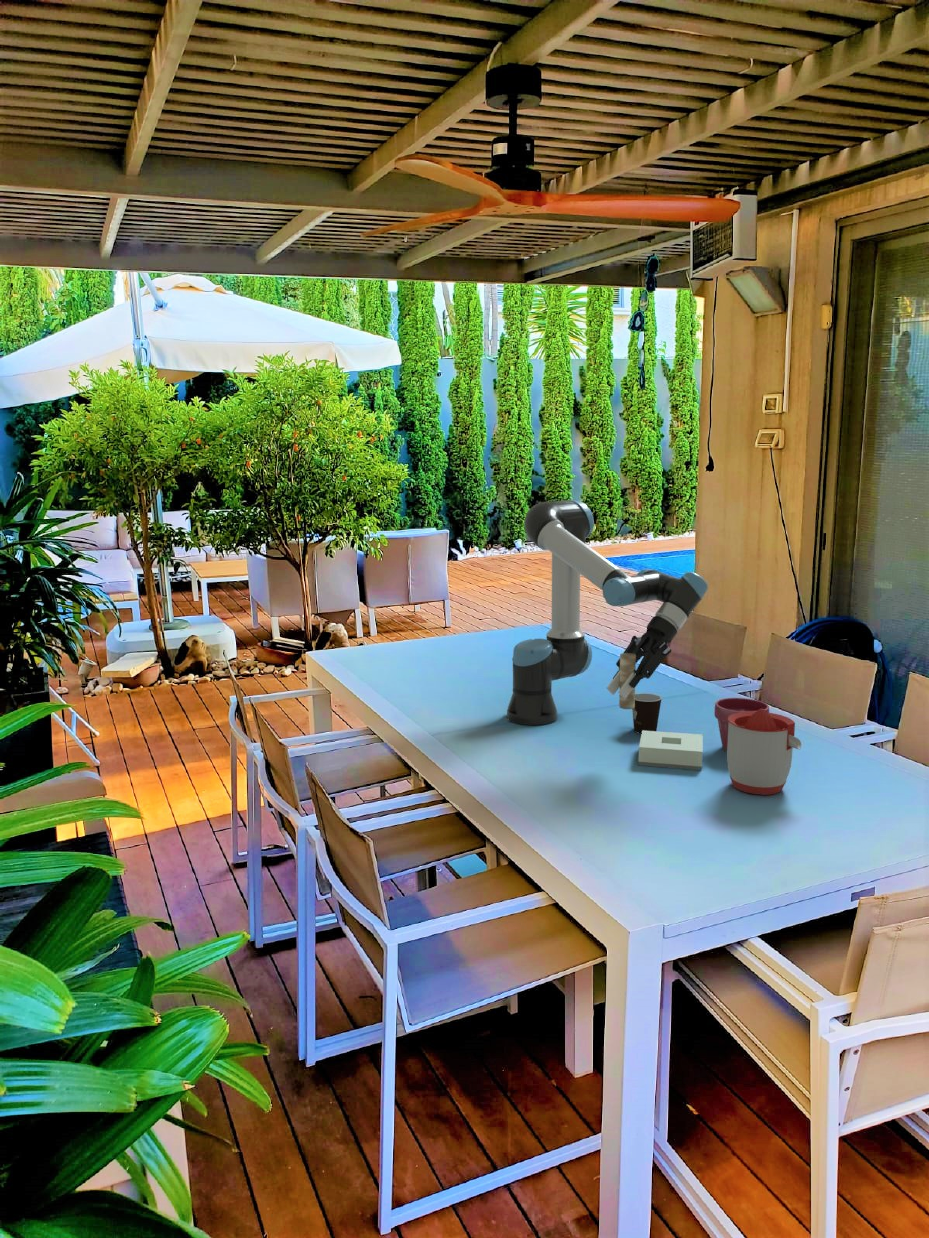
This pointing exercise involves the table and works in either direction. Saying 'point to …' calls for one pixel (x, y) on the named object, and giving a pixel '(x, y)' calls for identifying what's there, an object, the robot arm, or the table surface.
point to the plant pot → (734, 706)
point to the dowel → (625, 671)
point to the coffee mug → (646, 712)
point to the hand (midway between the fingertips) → (615, 693)
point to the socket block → (671, 750)
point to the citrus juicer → (760, 751)
